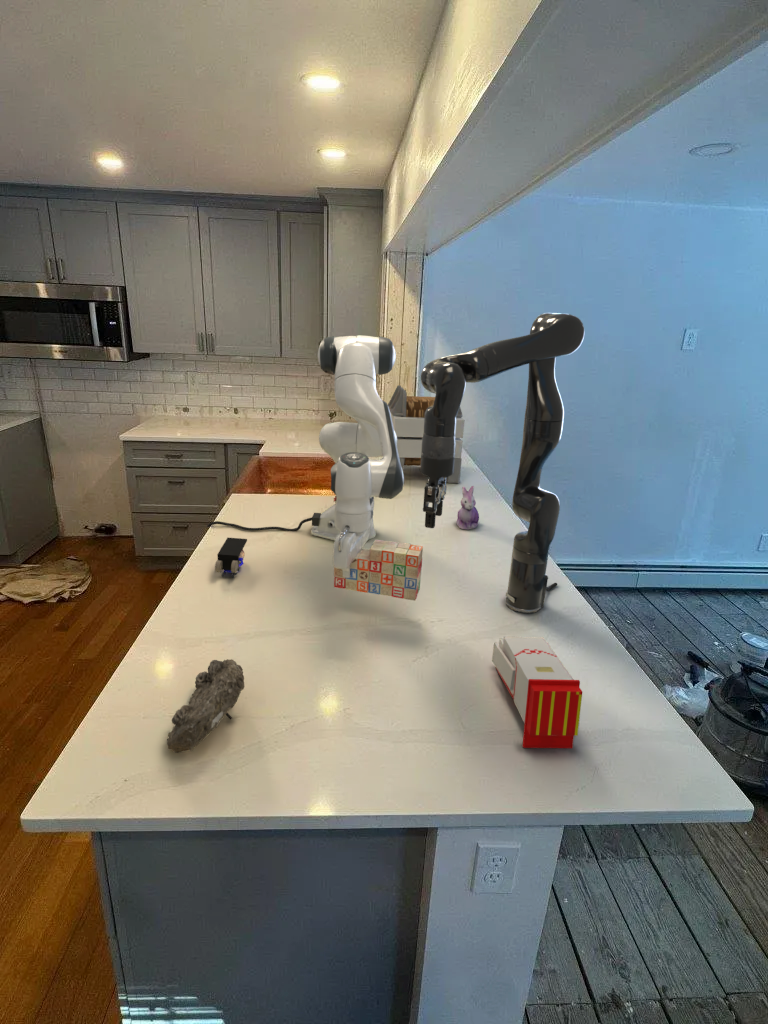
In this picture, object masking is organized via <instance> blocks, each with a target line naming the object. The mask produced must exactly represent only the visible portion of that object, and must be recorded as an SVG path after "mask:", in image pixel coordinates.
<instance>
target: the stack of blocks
mask: <svg viewBox="0 0 768 1024" xmlns="http://www.w3.org/2000/svg"><path fill="white" fill-rule="evenodd" d="M423 551H424V546H423V545H418V544H411V543H407V542H401V541H399V542H398V541H389V540H382V539H374V541H373V542H372V544H371V547H370V548H369V549H367V548H362V549H361V550H360V551H359V553H358V554H357V556H356V557H355V559H354V560H353V562H352V563H351V565H350V569H351V575H350V577H349V578H345V577H343V571H342V569H337V568H334V567H333V588H337V589H344V590H346V591H347V590H348V591H355V592H360V593H367V594H373V595H381V596H386V597H392V598H397V599H403V600H409V601H416V600H417V598H418V594H419V592H420V589H421V576H422V566H423Z"/></svg>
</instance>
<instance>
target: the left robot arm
mask: <svg viewBox="0 0 768 1024" xmlns="http://www.w3.org/2000/svg"><path fill="white" fill-rule="evenodd" d="M317 350H318V351H317V361H318V364H319V367H320V369H321V370H322V371H323V373H325V374H328V375H332V376H334V385H333V386H334V389H333V391H334V400H335V403H336V405H337V406H338V408H339V409H340V410H341V411H342V412H343V413H344V414H345V415H346V416H348V417H350V418H352V419H354V420H355V421H356V422H351V421H350V422H348V421H335V422H329V423H325V424H324V425H323V426H322V427H321V429H320V431H319V435H318V442H319V446H320V448H321V450H323V452H324V453H326V454H327V455H328V456H329V457H330V459H332V461H333V462H334V464H333V465H332V466H331V467H330V490H331V492H332V493H333V494H334V495H335V496H334V497H333V502H334V504H333V505H331V506H329V507H328V508H326V509H325V510H323V512H313V514H312V517H308V518H305V519H302V520H301V521H300V522H299V523H298V526H297V527H295V528H287V527H282V526H263V527H246V526H242V525H239V524H236V523H230V522H224V521H219V520H215V521H211V522H210V523H208V524H207V525H206V528H209V527H212V526H213V525H221V526H227V527H233V528H236V529H239V530H243V531H251V532H259V531H260V532H261V531H269V530H272V531H273V530H278V531H283V532H297V531H300V530H301V528H302V526H303V525H304V524H305V523H307V522H311V526H312V528H311V530H310V533H311V536H315V537H319V538H323V539H326V540H330V541H334V542H333V550H332V551H333V552H332V566H333V569H334V568H337V569H342V571H343V577H345V578H349V577H350V575H351V569H350V565H351V563H352V562H353V560H354V559H355V557H356V556H357V554H358V553H359V551H360V550H361V549H363V548H364V546H365V544H366V543H367V542H368V540H372V539H373V538H375V537H376V535H377V532H376V528H375V523H374V509H375V498H379V499H387V500H392V499H394V498H395V497H397V496H398V495H399V494H400V493H401V492H402V491H403V488H404V485H405V475H404V469H403V470H402V467H401V464H400V460H399V455H398V450H397V435H396V433H395V431H394V428H393V423H392V418H391V414H390V410H389V407H388V403H387V402H386V401H384V400H383V399H382V398H381V396H380V395H379V393H378V391H377V377H376V376H377V375H378V376H382V375H386V374H389V373H390V372H391V371H392V370H393V367H394V365H395V363H396V360H397V359H396V357H397V355H396V349H395V346H394V343H393V341H392V340H391V339H390V338H389V337H384V336H379V337H378V336H372V335H364V334H363V335H360V334H357V335H346V336H343V335H342V336H334V335H332V336H327V337H324V338H323V339H322V340H321V341H320V344H319V346H318V349H317ZM370 458H379V459H370Z"/></svg>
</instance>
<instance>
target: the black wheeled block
mask: <svg viewBox="0 0 768 1024" xmlns="http://www.w3.org/2000/svg"><path fill="white" fill-rule="evenodd" d="M247 542H248V538H240V537H226V539H225V541H224V543H223V544H222V546H221V547H220V549H219V551H218V552H217V560H216V562H215V564H214V572H215V573H221V577H222V578H224V577H225V576H226V574H227V573H230V574H231V573H232V574H231V578H234V577H235V575H236V573H237V572H239V571H240V567H242V566H243V565H244V564H245V562H244V558H245V551H244V547H245V546H246V544H247Z"/></svg>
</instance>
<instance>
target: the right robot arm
mask: <svg viewBox="0 0 768 1024" xmlns="http://www.w3.org/2000/svg"><path fill="white" fill-rule="evenodd" d="M585 331H586V330H585V326H584V323H583V321H582V320H581V319H580V317H578V316H576V315H574V314H570V313H564V312H563V313H562V312H561V313H560V312H558V313H557V312H544V313H541V314H539V315H538V316H536V318H535V319H534V321H533V322H532V324H531V327H530V329H529V334H526V335H521V336H517V337H511V338H506V339H501V340H497V341H492V342H489V343H486V344H483V345H481V346H478V347H476V348H473V349H470V350H468V351H466V352H462V353H456V354H452V355H447V356H443V357H439V358H436V359H433V360H431V361H429V362H428V363H427V364H425V366H424V367H423V368H422V370H421V373H420V383H421V385H422V387H423V388H424V389H425V390H426V391H427V392H429V393H432V394H435V396H434V397H435V400H434V405H433V406H430V407H428V408H427V409H426V411H425V416H424V433H423V439H422V448H421V466H419V467H420V469H419V472H420V473H421V475H423V476H425V477H428V481H426V482H425V485H424V487H423V490H424V492H423V505H422V512H423V513H425V517H424V527H425V528H427V529H434V528H435V527H436V518H437V517H441V516H442V515H443V508H444V507H443V505H444V500H445V496H446V495H447V492H446V491H447V481H446V480H447V477H450V476H451V475H453V473H454V460H455V447H456V442H455V431H456V416H457V413H458V410H459V408H461V404H462V401H463V398H464V395H465V391H466V383H471V384H472V383H473V384H475V383H479V382H483V381H485V380H488V379H490V378H493V377H495V376H498V375H500V374H503V373H505V372H508V371H510V370H514V369H516V368H519V367H522V366H525V365H528V380H527V392H526V403H525V404H526V405H525V411H524V419H523V428H522V443H521V450H520V456H519V457H520V458H519V465H518V471H517V475H516V480H515V484H514V489H513V494H512V502H511V507H512V511H513V513H514V515H515V516H516V517H517V518H519V519H521V520H523V521H525V522H527V523H529V524H528V528H527V530H525V531H519V532H517V533H516V534H515V535H514V538H513V545H512V552H511V560H510V568H509V575H508V582H507V591H506V592H505V605H506V606H507V607H508V608H509V609H510V610H511V611H512V610H513V611H515V612H518V613H523V614H533V613H537V612H539V611H540V610H541V609H543V608H544V606H545V599H546V594H547V591H550V590H552V589H554V588H556V587H557V586H558V583H557V582H554V583H552V584H550V585H549V586H548V581H549V576H548V574H547V573H546V572H547V567H548V559H549V555H550V554H549V553H550V547H551V545H552V542H553V540H554V538H555V535H556V531H557V525H558V521H559V516H560V511H561V504H560V499H559V497H558V496H557V494H555V493H554V492H551V491H549V490H546V489H544V488H541V476H542V471H543V468H544V465H545V463H546V462H547V460H548V459H549V458H550V456H551V455H552V454H553V452H554V451H555V450H556V448H557V446H558V445H559V443H560V441H561V439H562V434H563V427H564V418H565V408H564V403H563V400H562V396H561V393H560V390H559V387H558V384H557V381H556V369H555V368H556V359H557V358H558V357H563V356H568V355H571V354H573V353H575V352H576V351H577V350H578V349H579V348H580V347H581V345H582V343H583V341H584V338H585ZM429 504H431V506H430V505H429ZM436 516H437V517H436Z"/></svg>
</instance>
